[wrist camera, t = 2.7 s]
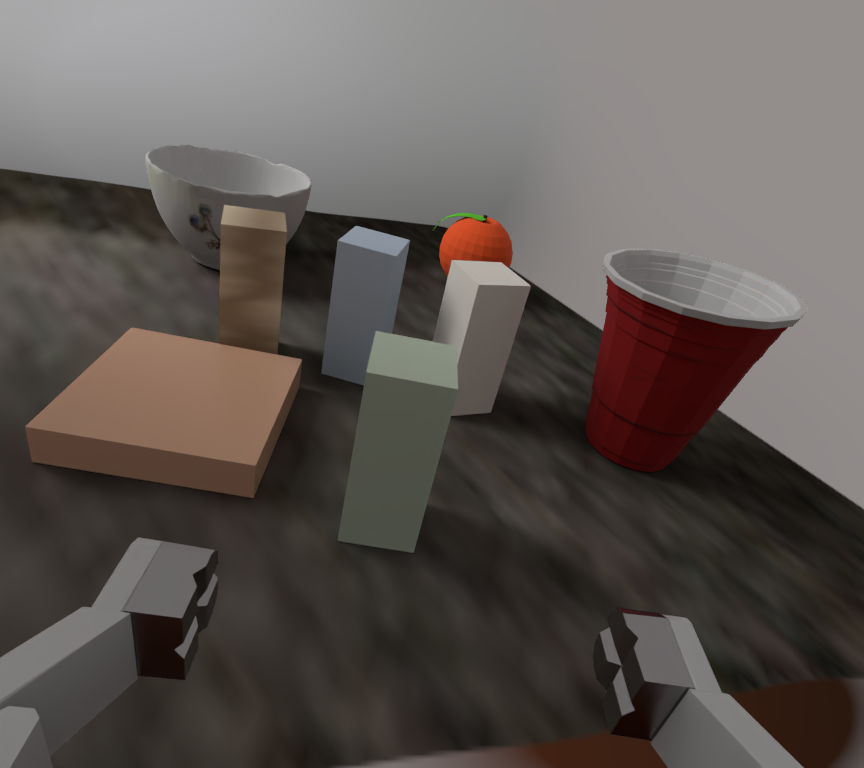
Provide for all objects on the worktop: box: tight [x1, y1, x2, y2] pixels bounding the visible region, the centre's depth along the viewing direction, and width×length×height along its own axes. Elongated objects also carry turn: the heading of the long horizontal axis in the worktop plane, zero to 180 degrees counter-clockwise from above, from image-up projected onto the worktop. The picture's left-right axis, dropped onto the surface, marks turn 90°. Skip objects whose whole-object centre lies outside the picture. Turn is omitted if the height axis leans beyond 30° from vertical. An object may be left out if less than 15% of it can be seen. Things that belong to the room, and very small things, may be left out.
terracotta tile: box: [25, 327, 302, 498], centre depth 30 cm, size 10×10×2 cm
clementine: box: [433, 213, 513, 277], centre depth 54 cm, size 8×7×7 cm
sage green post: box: [338, 331, 458, 553], centre depth 25 cm, size 4×4×9 cm
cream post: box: [433, 260, 531, 416], centre depth 36 cm, size 4×4×9 cm
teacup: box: [146, 145, 311, 270], centre depth 49 cm, size 15×12×8 cm
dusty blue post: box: [321, 226, 410, 386], centre depth 36 cm, size 4×4×9 cm
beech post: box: [219, 205, 287, 355], centre depth 35 cm, size 4×4×9 cm
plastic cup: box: [585, 248, 808, 472], centre depth 35 cm, size 11×11×12 cm
